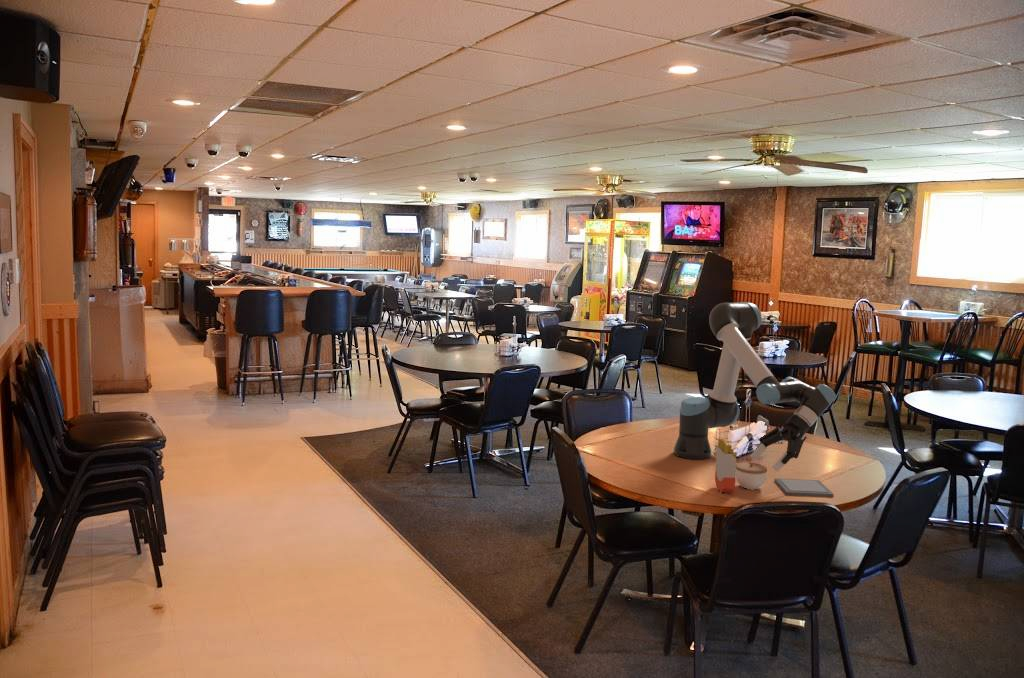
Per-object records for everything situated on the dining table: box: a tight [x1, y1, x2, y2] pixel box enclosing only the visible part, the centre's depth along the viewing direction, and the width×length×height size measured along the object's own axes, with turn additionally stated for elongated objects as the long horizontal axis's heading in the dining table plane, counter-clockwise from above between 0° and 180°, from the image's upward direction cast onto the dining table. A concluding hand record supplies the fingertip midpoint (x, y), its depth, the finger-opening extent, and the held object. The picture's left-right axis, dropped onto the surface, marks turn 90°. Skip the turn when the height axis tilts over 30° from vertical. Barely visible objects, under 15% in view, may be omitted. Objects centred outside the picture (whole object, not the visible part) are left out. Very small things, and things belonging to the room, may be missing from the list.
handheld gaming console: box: [756, 415, 786, 443], centre depth 349 cm, size 13×9×10 cm
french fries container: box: [714, 437, 738, 493], centre depth 273 cm, size 5×11×18 cm, turn 0°
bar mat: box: [774, 477, 834, 498], centre depth 278 cm, size 16×16×1 cm
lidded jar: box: [735, 461, 768, 491], centre depth 278 cm, size 11×11×9 cm
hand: (763, 464), depth 277 cm, fingers open, 13 cm apart
